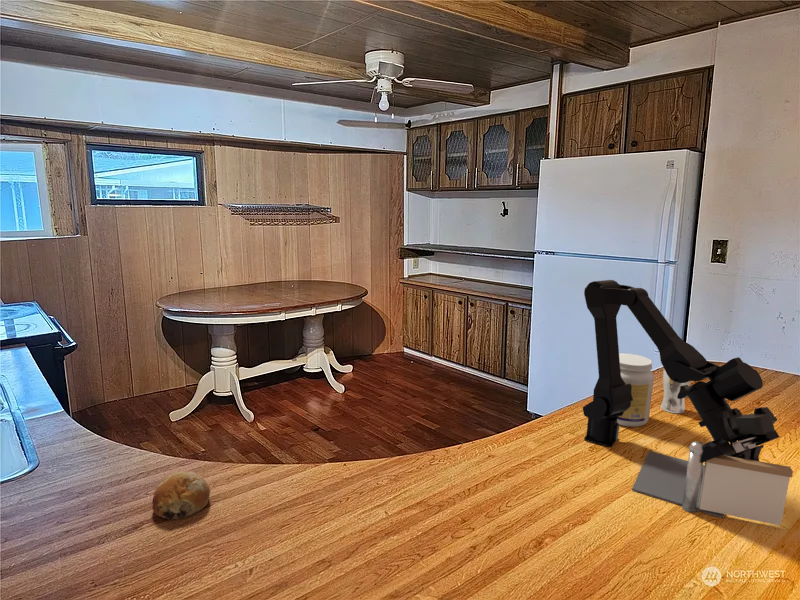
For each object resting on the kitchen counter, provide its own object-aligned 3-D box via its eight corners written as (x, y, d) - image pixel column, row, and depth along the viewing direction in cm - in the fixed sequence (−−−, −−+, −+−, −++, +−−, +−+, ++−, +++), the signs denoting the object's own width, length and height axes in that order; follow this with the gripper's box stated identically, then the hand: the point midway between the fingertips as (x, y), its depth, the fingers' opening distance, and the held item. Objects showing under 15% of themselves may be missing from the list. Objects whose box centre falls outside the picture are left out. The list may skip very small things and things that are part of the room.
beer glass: (689, 415, 144) (697, 363, 141) (662, 413, 146) (669, 361, 143) (681, 405, 151) (688, 356, 148) (656, 403, 152) (662, 354, 149)
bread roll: (216, 518, 100) (225, 475, 102) (180, 526, 91) (191, 478, 93) (174, 507, 104) (184, 466, 105) (135, 514, 94) (147, 468, 96)
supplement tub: (610, 405, 150) (616, 349, 147) (655, 418, 142) (662, 359, 138) (592, 417, 141) (598, 358, 138) (638, 432, 133) (646, 369, 130)
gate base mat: (631, 490, 107) (632, 488, 106) (648, 452, 123) (649, 450, 123) (723, 518, 98) (723, 516, 98) (728, 473, 114) (728, 471, 114)
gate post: (690, 514, 99) (700, 446, 96) (677, 506, 101) (686, 440, 98) (700, 511, 100) (710, 443, 97) (686, 503, 102) (696, 437, 100)
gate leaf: (698, 509, 99) (706, 456, 97) (697, 504, 101) (705, 452, 98) (782, 526, 94) (793, 471, 92) (779, 521, 96) (789, 466, 94)
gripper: (716, 401, 94) (769, 488, 86) (777, 387, 102) (831, 466, 94) (671, 424, 102) (716, 505, 95) (731, 409, 110) (777, 482, 103)
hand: (762, 489), depth 97 cm, fingers closed
